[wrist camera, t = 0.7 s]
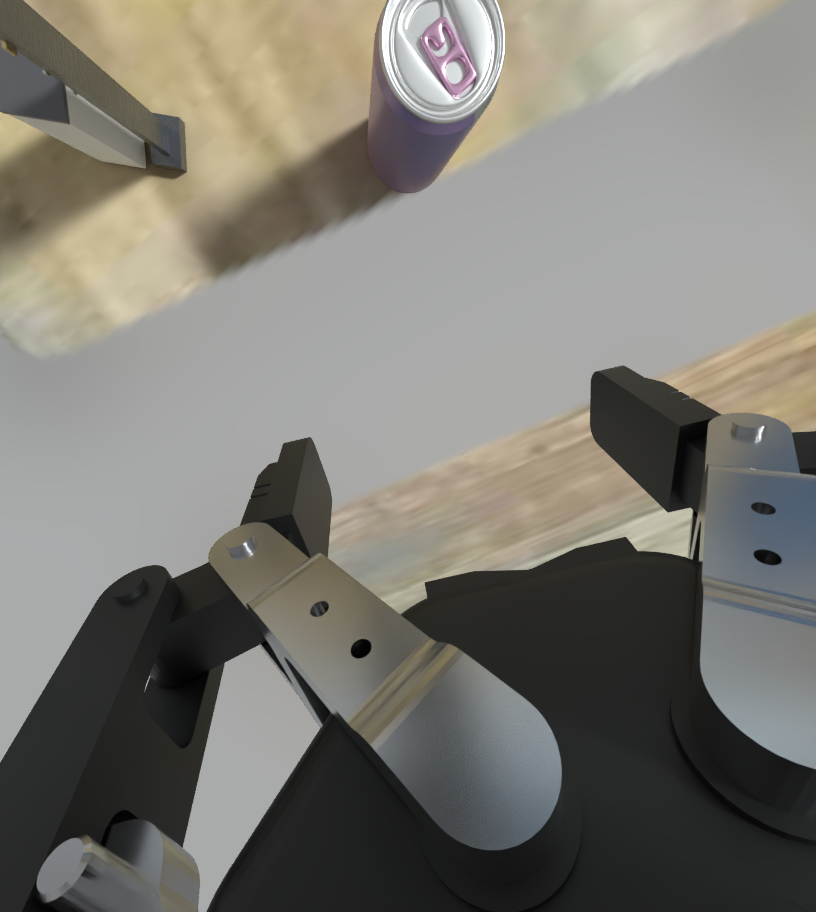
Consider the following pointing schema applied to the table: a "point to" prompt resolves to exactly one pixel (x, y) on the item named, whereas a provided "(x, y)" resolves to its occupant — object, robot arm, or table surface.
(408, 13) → the beverage can
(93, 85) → the rail
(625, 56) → the table surface
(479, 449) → the table surface
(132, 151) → the fader knob
